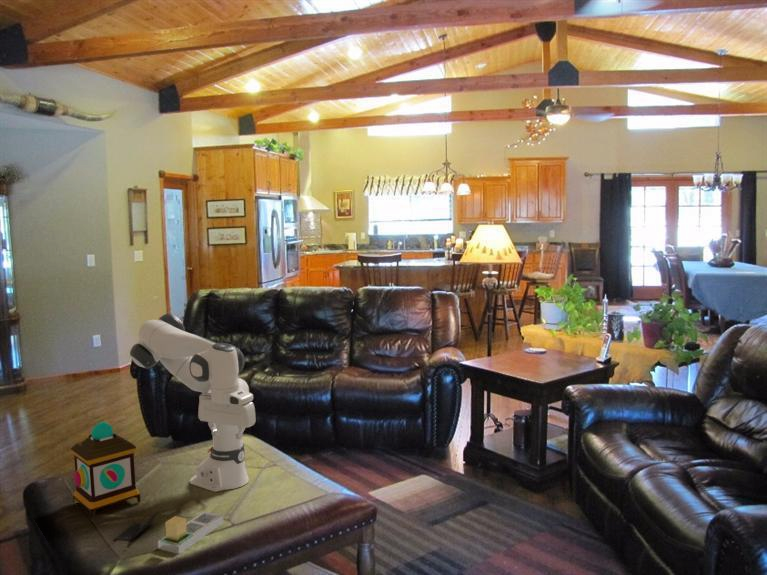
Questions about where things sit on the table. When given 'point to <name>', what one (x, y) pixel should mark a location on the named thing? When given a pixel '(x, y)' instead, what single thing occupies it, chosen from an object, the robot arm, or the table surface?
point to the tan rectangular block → (176, 529)
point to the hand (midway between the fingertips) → (227, 436)
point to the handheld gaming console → (134, 530)
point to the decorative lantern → (104, 469)
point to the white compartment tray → (193, 532)
